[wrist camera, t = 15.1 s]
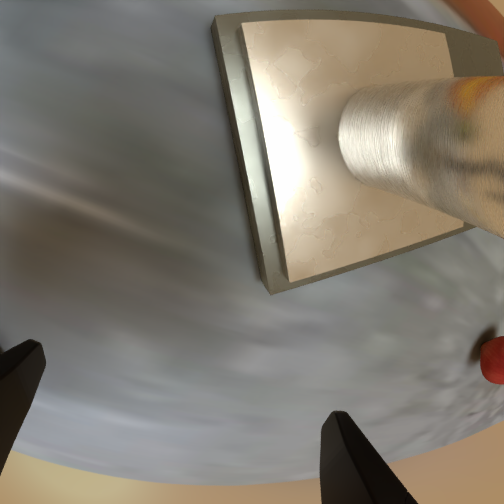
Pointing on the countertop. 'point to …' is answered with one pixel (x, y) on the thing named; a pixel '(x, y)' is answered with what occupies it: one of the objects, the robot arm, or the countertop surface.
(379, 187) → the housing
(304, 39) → the arbor press
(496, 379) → the onion
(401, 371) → the countertop surface
